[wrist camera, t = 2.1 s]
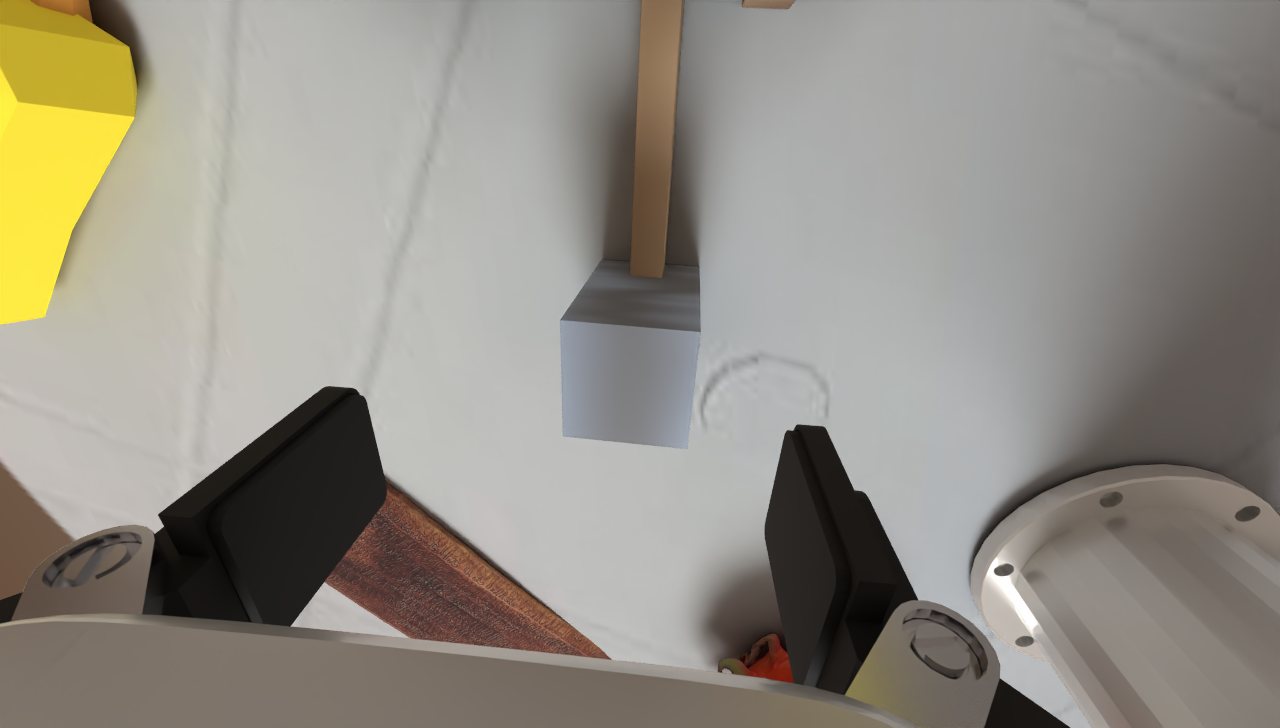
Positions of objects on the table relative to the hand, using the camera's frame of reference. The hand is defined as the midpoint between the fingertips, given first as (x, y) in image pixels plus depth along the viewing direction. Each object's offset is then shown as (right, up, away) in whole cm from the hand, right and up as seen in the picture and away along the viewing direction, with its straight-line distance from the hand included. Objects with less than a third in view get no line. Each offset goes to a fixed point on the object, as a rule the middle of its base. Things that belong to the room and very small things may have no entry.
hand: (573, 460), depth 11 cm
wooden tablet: (-10, -13, +21) cm, 27 cm away
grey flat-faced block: (+2, +9, +8) cm, 12 cm away
